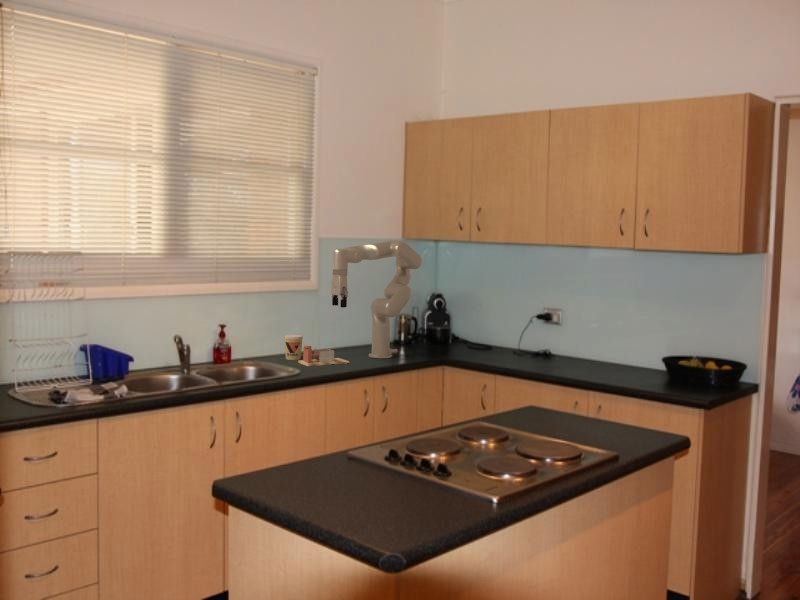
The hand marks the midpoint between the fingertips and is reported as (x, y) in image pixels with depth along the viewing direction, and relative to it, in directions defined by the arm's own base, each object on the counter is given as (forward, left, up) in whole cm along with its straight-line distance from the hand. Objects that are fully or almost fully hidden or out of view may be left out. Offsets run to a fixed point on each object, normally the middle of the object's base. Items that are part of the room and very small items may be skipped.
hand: (339, 306), depth 426 cm
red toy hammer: (+13, +3, -27) cm, 30 cm away
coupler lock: (+9, +3, -27) cm, 29 cm away
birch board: (+10, +3, -28) cm, 30 cm away
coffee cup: (+19, -14, -28) cm, 37 cm away
